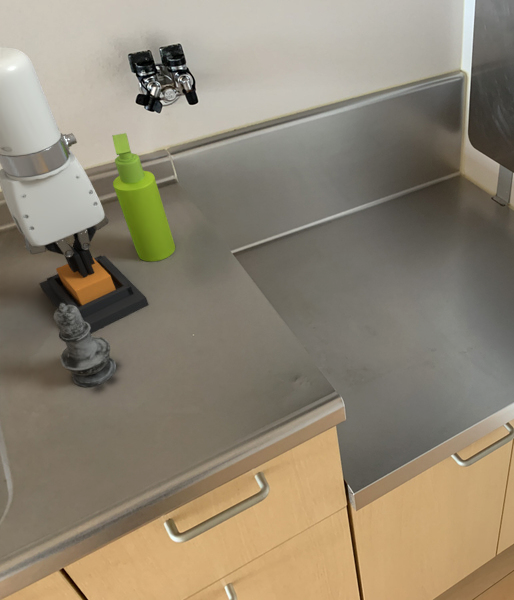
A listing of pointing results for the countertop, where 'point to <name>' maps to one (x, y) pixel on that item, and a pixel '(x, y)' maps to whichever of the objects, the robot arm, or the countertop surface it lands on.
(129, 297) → the black tray
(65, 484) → the countertop surface
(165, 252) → the soap dispenser
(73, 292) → the orange block
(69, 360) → the grey chess piece
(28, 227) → the robot arm
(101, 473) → the countertop surface
